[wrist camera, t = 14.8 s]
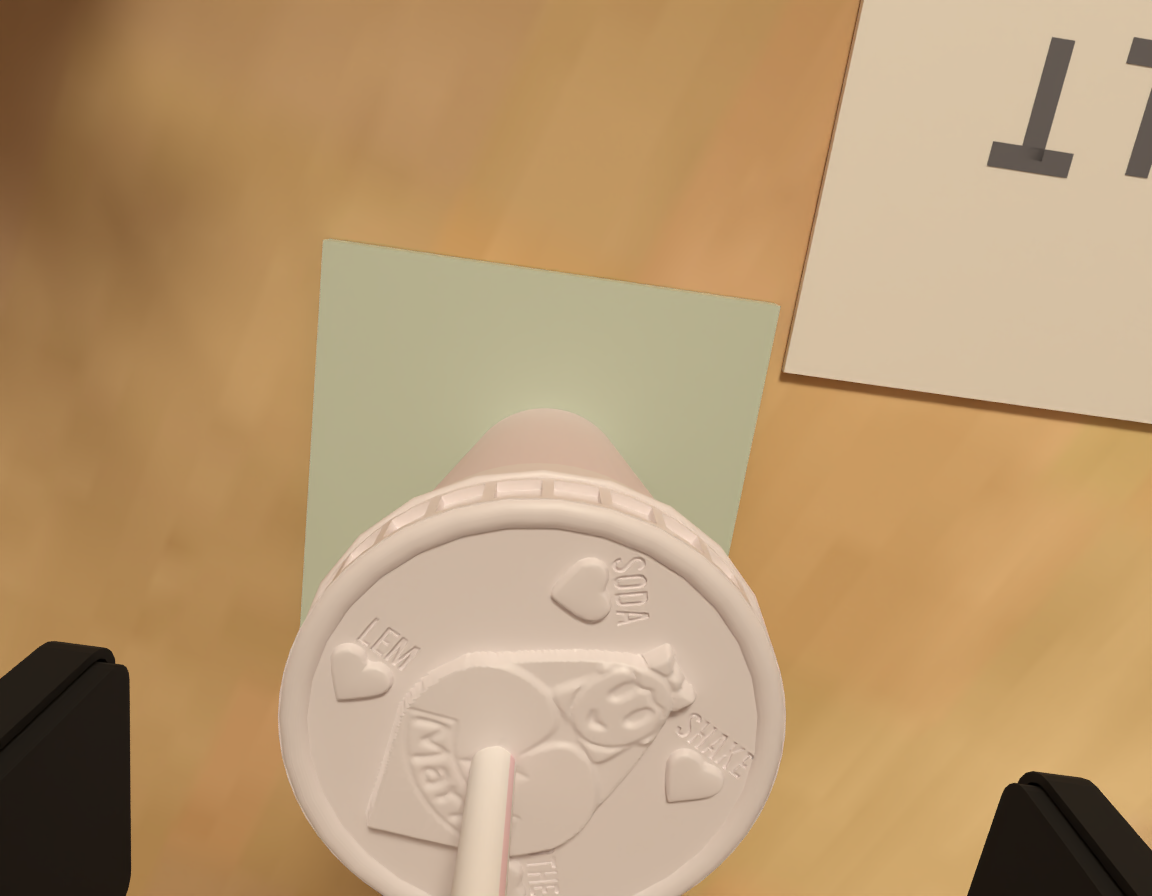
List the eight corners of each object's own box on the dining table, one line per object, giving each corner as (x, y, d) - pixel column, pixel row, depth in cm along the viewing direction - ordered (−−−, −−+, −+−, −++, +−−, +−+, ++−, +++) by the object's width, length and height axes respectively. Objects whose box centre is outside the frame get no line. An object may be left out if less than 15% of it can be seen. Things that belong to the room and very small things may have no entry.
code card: (1355, -36, 17) (1365, -39, 17) (1189, 427, 20) (1196, 430, 20) (886, -119, 17) (890, -123, 17) (781, 370, 20) (784, 372, 19)
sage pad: (773, 303, 19) (780, 306, 19) (694, 687, 22) (697, 701, 21) (330, 238, 19) (323, 240, 18) (305, 642, 21) (298, 654, 21)
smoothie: (353, 429, 19) (-121, 965, 6) (605, 296, 18) (733, 558, 5) (491, 651, 21) (373, 1468, 7) (727, 537, 20) (1067, 1217, 7)
